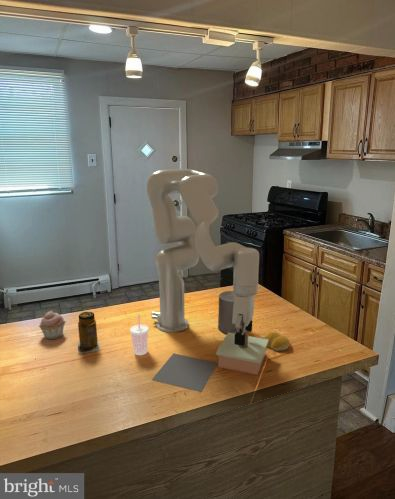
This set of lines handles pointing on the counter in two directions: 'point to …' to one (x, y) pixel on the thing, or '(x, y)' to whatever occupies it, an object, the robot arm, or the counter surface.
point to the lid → (243, 348)
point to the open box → (240, 365)
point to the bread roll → (277, 341)
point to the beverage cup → (139, 338)
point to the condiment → (87, 333)
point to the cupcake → (52, 325)
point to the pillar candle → (226, 312)
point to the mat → (186, 372)
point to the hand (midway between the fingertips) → (243, 337)
